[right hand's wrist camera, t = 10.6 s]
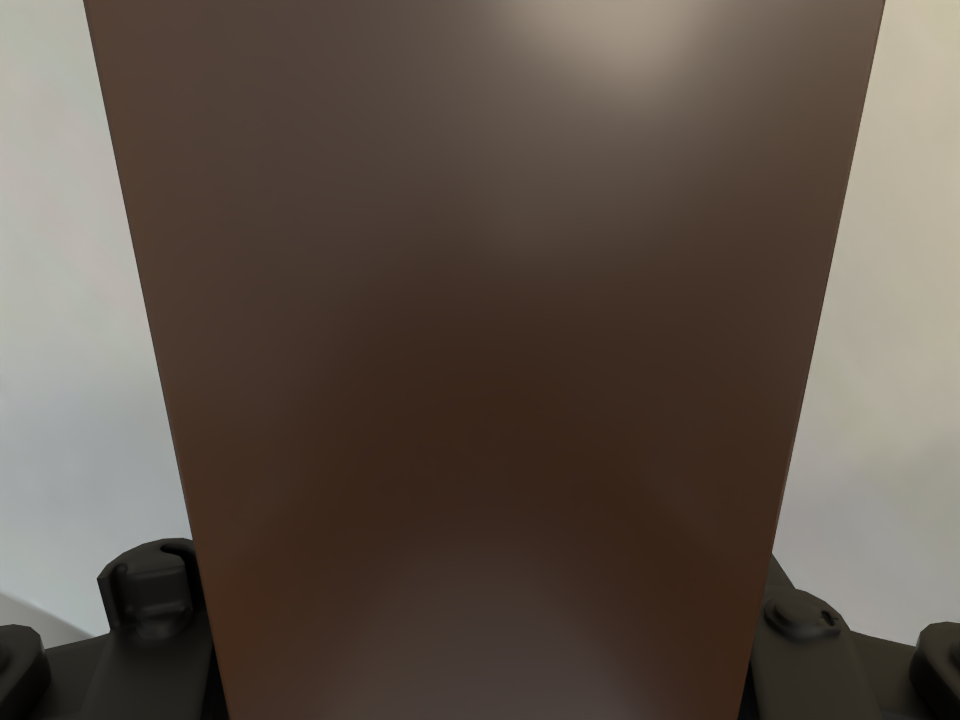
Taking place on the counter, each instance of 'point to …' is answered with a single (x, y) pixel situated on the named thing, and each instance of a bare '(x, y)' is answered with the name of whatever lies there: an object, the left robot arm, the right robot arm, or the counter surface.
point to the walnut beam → (483, 333)
